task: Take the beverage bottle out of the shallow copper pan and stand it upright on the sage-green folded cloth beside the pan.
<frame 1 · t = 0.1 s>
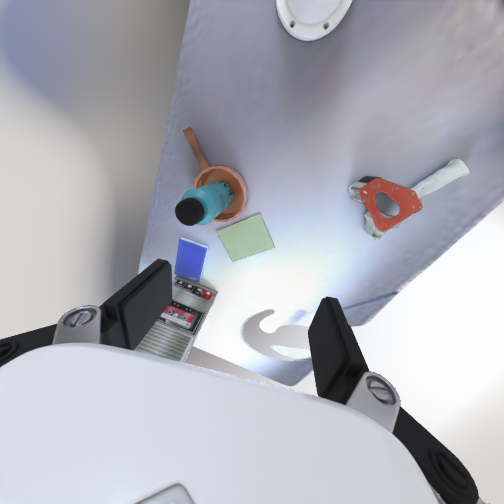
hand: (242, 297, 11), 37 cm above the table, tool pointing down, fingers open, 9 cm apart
cloth: (245, 239, 50), on the table
tape dispenser: (391, 197, 41), on the table
beverage bottle: (223, 193, 46), resting on pan
tall grey upright box: (195, 289, 61), on the table
pan: (223, 193, 46), on the table
pan handle: (197, 150, 40), point 2 cm above the table
hard drive: (192, 259, 56), on the table
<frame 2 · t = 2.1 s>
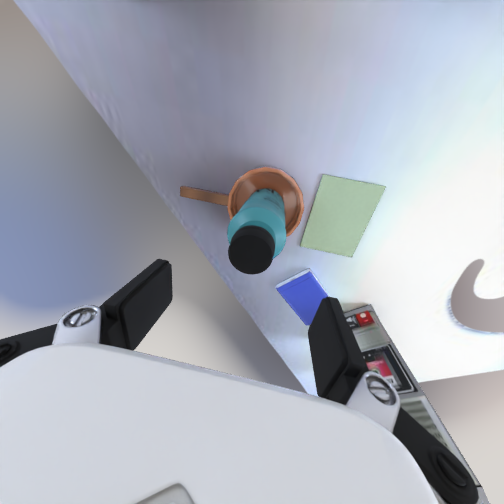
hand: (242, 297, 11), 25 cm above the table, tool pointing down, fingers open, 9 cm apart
cloth: (338, 218, 33), on the table
beverage bottle: (266, 204, 33), resting on pan
tall grey upright box: (342, 321, 43), on the table
pan: (266, 204, 33), on the table
pan handle: (206, 195, 31), point 2 cm above the table
hard drive: (307, 295, 41), on the table
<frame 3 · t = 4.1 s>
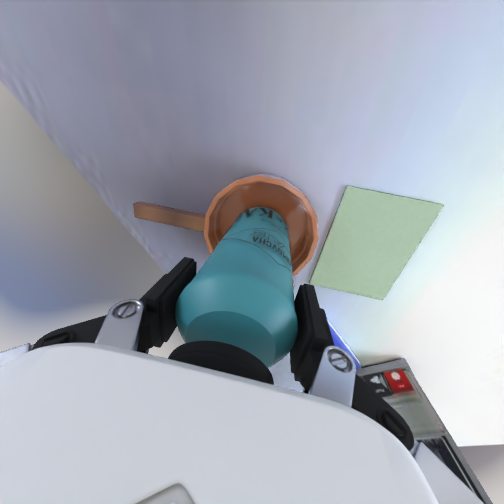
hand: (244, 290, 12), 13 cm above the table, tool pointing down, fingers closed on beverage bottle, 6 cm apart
cloth: (366, 249, 23), on the table
beverage bottle: (261, 227, 23), resting on pan, touching gripper
tall grey upright box: (364, 375, 33), on the table
pan: (261, 227, 23), on the table
pan handle: (172, 216, 21), point 2 cm above the table
hard drive: (317, 343, 31), on the table
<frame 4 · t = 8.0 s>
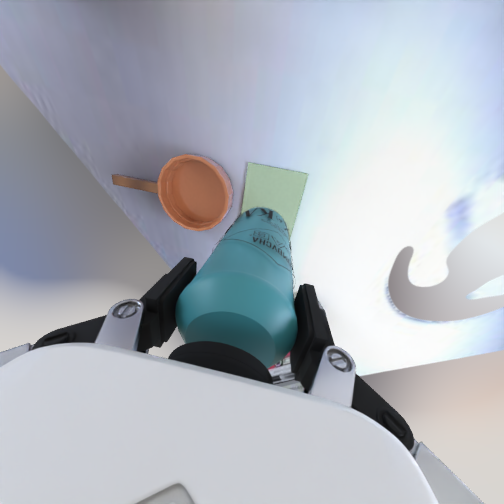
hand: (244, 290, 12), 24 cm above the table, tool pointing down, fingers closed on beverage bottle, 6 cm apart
cloth: (269, 206, 34), on the table
beverage bottle: (261, 227, 23), point 12 cm above the table, touching gripper
tall grey upright box: (290, 311, 44), on the table
pan: (200, 192, 34), on the table
pan handle: (138, 183, 32), point 2 cm above the table
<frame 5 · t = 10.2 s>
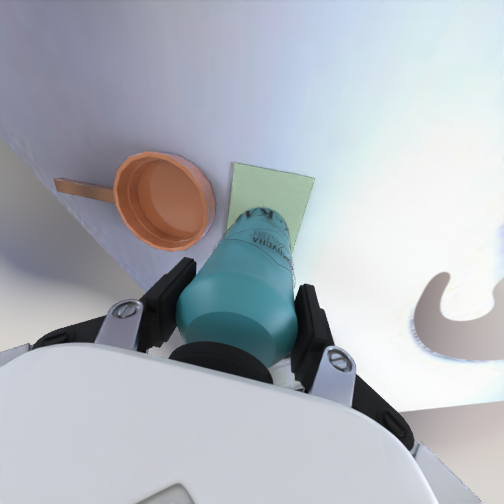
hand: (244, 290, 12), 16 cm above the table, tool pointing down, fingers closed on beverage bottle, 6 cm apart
cloth: (263, 220, 26), on the table
beverage bottle: (261, 227, 23), point 3 cm above the table, touching gripper
tall grey upright box: (290, 343, 36), on the table
pan: (174, 201, 27), on the table
pan handle: (89, 190, 24), point 2 cm above the table
when the fingers open (13 cm above the table, at t = 11.7 s): beverage bottle stays where it is, resting on cloth.
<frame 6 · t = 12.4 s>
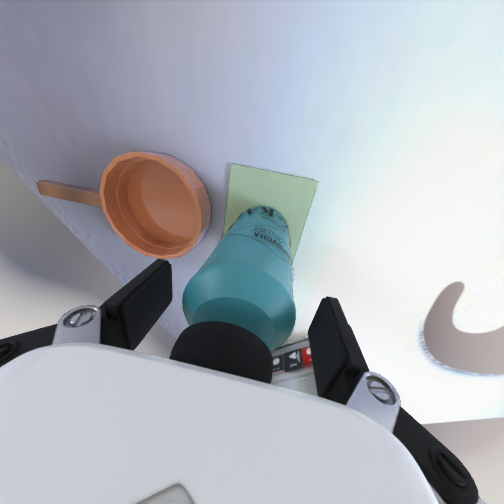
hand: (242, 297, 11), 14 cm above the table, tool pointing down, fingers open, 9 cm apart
cloth: (263, 225, 24), on the table
beverage bottle: (262, 225, 24), resting on cloth
tall grey upright box: (291, 354, 34), on the table
pan: (167, 205, 25), on the table
pan handle: (75, 193, 23), point 2 cm above the table
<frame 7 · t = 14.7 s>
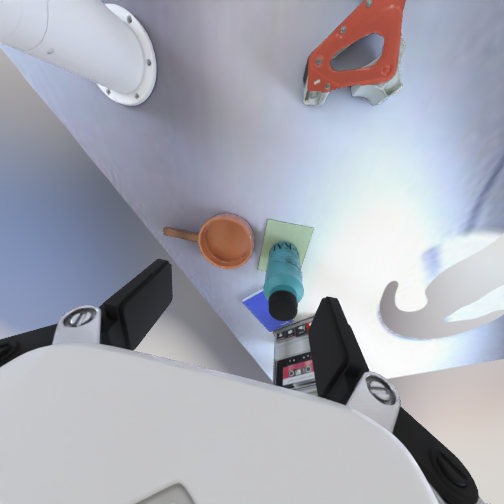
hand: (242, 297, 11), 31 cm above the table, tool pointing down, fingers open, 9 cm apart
cloth: (283, 250, 43), on the table
tape dispenser: (358, 43, 27), on the table
beverage bottle: (283, 250, 43), resting on cloth
tall grey upright box: (299, 329, 53), on the table
pan: (229, 238, 44), on the table
pan handle: (182, 234, 42), point 2 cm above the table
hard drive: (268, 307, 51), on the table
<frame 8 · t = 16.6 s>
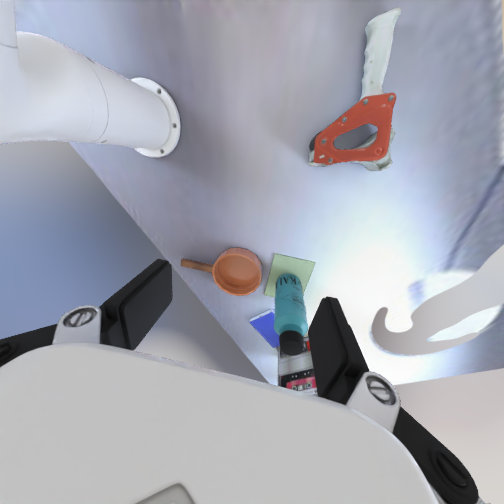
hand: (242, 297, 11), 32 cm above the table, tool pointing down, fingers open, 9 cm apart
cloth: (287, 279, 48), on the table
tape dispenser: (356, 120, 32), on the table
beverage bottle: (287, 279, 48), resting on cloth
tall grey upright box: (300, 344, 59), on the table
pan: (239, 268, 49), on the table
pan handle: (197, 265, 47), point 2 cm above the table
hard drive: (272, 326, 57), on the table
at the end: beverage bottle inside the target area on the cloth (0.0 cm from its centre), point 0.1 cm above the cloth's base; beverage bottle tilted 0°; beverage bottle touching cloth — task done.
